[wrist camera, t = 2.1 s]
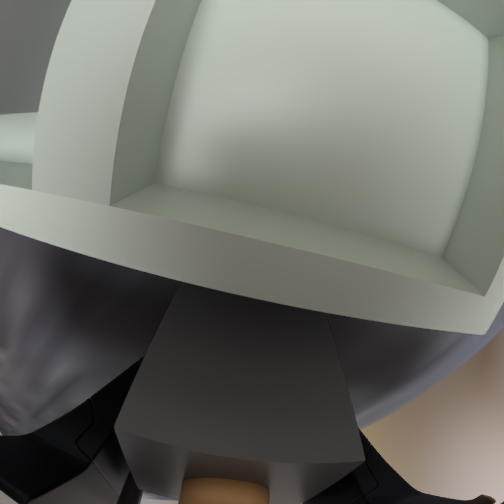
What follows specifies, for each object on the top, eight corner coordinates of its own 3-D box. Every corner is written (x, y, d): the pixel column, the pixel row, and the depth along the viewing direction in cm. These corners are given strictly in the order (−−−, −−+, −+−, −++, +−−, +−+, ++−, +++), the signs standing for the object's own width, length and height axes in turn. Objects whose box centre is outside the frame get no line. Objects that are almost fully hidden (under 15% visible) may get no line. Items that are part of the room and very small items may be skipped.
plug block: (282, 391, 12) (287, 529, 5) (174, 370, 11) (133, 507, 5) (323, 306, 10) (371, 491, 3) (184, 276, 9) (100, 460, 3)
